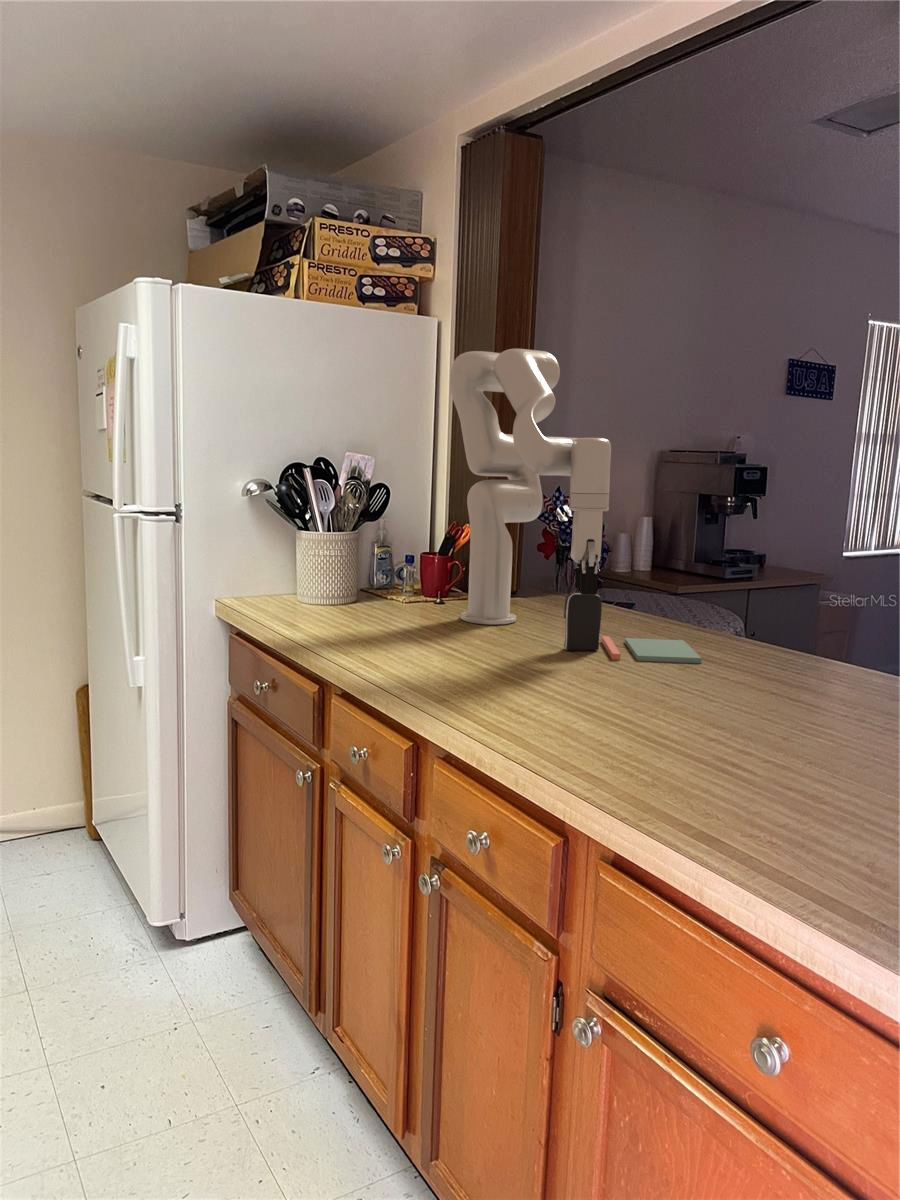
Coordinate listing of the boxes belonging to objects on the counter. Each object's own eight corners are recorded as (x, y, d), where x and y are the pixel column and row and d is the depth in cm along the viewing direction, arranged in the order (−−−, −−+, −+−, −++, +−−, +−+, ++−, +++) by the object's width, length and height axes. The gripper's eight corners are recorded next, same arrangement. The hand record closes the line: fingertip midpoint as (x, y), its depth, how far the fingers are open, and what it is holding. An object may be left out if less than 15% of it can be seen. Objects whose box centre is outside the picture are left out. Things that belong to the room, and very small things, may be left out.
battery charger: (593, 647, 184) (596, 590, 182) (600, 651, 180) (603, 594, 178) (560, 647, 182) (563, 590, 181) (566, 651, 179) (569, 594, 177)
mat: (624, 642, 189) (624, 637, 189) (683, 645, 189) (683, 640, 188) (637, 660, 173) (637, 655, 173) (701, 663, 173) (701, 658, 173)
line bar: (601, 641, 189) (601, 636, 189) (608, 642, 189) (609, 636, 189) (612, 659, 173) (612, 653, 173) (620, 660, 173) (620, 653, 173)
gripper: (565, 501, 185) (562, 585, 187) (573, 504, 168) (570, 596, 170) (602, 501, 185) (599, 585, 187) (615, 505, 168) (611, 597, 170)
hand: (585, 591), depth 179 cm, fingers open, 9 cm apart
